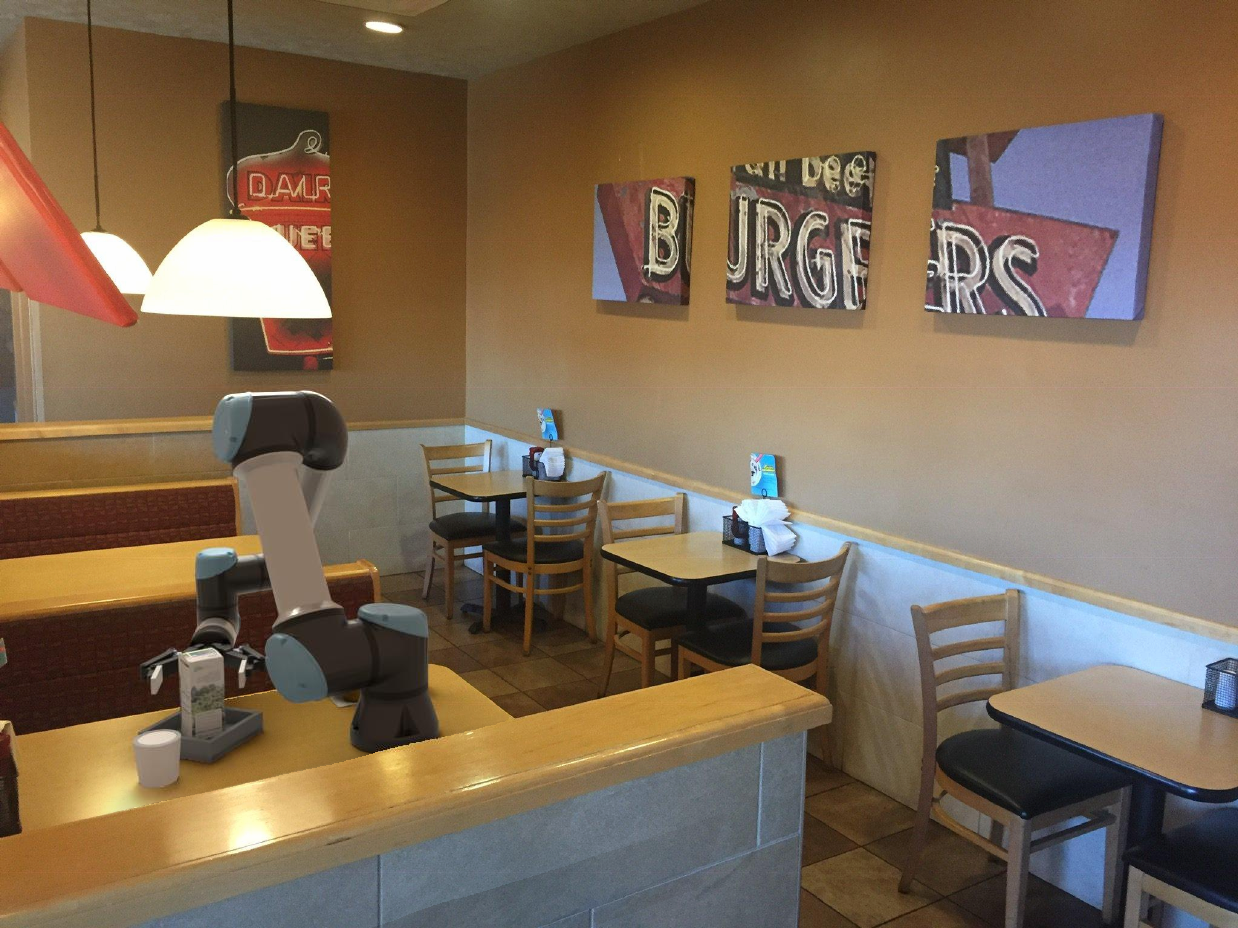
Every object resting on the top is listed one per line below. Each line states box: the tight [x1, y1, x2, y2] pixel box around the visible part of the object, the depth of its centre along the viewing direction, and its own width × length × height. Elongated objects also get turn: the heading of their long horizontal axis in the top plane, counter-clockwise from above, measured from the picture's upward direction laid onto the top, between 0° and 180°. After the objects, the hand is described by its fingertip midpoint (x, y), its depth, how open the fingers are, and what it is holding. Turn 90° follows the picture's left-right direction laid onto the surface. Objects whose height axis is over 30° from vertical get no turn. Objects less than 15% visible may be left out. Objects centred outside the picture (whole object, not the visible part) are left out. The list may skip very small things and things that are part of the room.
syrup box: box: [178, 648, 226, 740], centre depth 172 cm, size 6×6×14 cm
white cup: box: [132, 729, 181, 789], centre depth 158 cm, size 7×7×7 cm
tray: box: [137, 706, 264, 764], centre depth 173 cm, size 14×14×4 cm
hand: (197, 683), depth 168 cm, fingers open, 13 cm apart
